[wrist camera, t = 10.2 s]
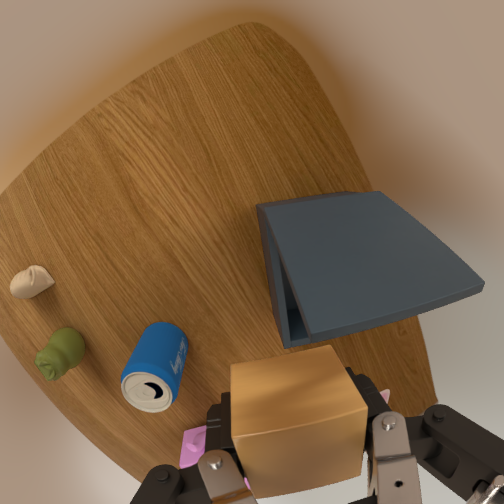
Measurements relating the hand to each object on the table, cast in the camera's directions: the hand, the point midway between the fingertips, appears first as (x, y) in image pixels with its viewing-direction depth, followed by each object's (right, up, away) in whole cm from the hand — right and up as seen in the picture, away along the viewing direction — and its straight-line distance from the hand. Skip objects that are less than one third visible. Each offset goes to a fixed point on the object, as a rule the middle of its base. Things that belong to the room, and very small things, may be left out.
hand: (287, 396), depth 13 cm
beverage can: (-14, -5, +27) cm, 30 cm away
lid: (+6, +7, +8) cm, 12 cm away
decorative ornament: (-33, +3, +24) cm, 41 cm away
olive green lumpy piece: (-28, -6, +26) cm, 39 cm away
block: (0, 0, 0) cm, 0 cm away
